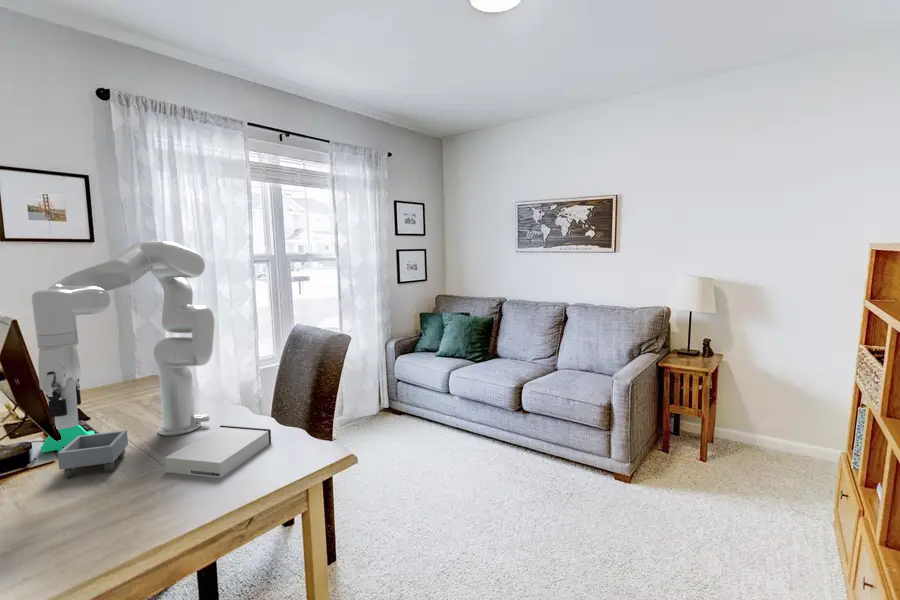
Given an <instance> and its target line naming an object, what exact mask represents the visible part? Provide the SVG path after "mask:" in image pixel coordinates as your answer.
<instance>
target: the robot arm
mask: <svg viewBox="0 0 900 600" xmlns="http://www.w3.org/2000/svg"><path fill="white" fill-rule="evenodd" d="M203 258H204V257H202V255H200V253H198V252H197V251H195V250H193V249H191V248H187V246H186V247H185V246H184V245H182V244H181V245H180V244H178V243H176V242H172V241H167V240H146V241H143V240H142V241H138V242H136V243H134V244H132V245H130V246H129V247H127V248H125V250H122V251H121V252H120V253H118V254H117V255H115V256H113V257H111V258H110V259H109V260H107V261H105V262H102V263H99V264H96V265H92V266H89V267H87V268H84V269H82V270H78V271H76V272H73V273H71V274H69V275H67V276H65V277H63V278H62V279H60V280H59V281H57V282H55V283H54V284H52V285H51V286H49V287H48V288H47V289H40V290H37V291H35V292H33V293H32V296H31V304H32V309H33V311H32V312H33V318H34V320H33V321H34V328H35V334H36V335H35V336H36V343H37V349H38V361H37V362H38V365H37V366H38V367H37V369H38V383H39V388H40V389H39V390H41V391H43V392H44V394H45V397H46V402H47V404H48V411H49V413H48V414H49V417H50V418H55V417H57V416H65V415H67V406H66V399H63V398H64V389H65V387H67V386H68V385H69V379H71V378H72V377H74V378H75V384H76V396H77V406H80V405H81V404H82V398H81V390H80V388H81V385H80V379H81V363H80V358H79V353H78V352H79V351H78V348H77V345H79V336H78V328H77V327H78V326H77V325H78V324H77V318H76V317H78V316H95V315H98V314H101V313H103V312H104V311H106V310H107V308H108V307H110V304H111V297H110V293H109V292H110V291H115V290H120V289H123V288H126V287H130V286H132V285H133V284H134V283H136V282H137V281H138V280H140V279H141V278H142V277H143V276H145V275H146V274H147V273H148V272H151V273H152V275H153V276H154V277H155V278H156V279H157V280H158V282H159V283H160V285H161V287H162V291H163V300H162V302H163V303H162V311H161V314H162V315H161V326H162V329H163V330H164V331H165V332H167V333H170V334H191V337H189V336H188V337H187V336H185V337H184V336H183V337H182V336H179V337H178V336H177V337H176V336H172V337H171V336H170V337H165V338H162V339H160V340H159V341H158V342H157V343H156V344H155V345H154V348H153V358H154V361H155V364H156V366H157V371H158V378H159V387H160V388H159V391H160V399H161V401H160V403H161V413H162V425H160V426H159V427H158V429H157V430H158V431H157V432H158V434H159V435H161V436H170V437H171V436H179V435H185V434H187V433H191V432H193V431H195V430H198V429H199V428H200V427H201V425H202V422H203V423H204V422H210V420H211V418H210V415H208V414H206V413H205V414H201V415H200V414H198V410H197V411H196V406H195V405H196V403H195V394H194V393H195V391H194V377H193V373H192V372H191V369H190V368H189V367H202V366H206V365H207V364H208V363H209V362H210V360H211V358H212V355H213V350H214V349H213V347H214V338H215V337H214V335H215V317H214V313H213V311H212V310H211V307H210V308H209V306H206V305H201V304H195V305H194V304H193V297H194V296H193V295H194V294H193V293H194V292H193V288H192V286H191V284H190V283H189V282H188V280H187V279H193V278H198V277H200V276H201V275H202V274H203V273H204V271H205V267H206V266H205V265H206V264H205V260H204V259H203ZM186 278H187V279H186ZM108 291H109V292H108ZM55 382H57V384H60V385H61V386H60V387H53V386H54V383H55ZM54 390H59V394H58V393H57V392H56V391H54Z"/></svg>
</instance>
